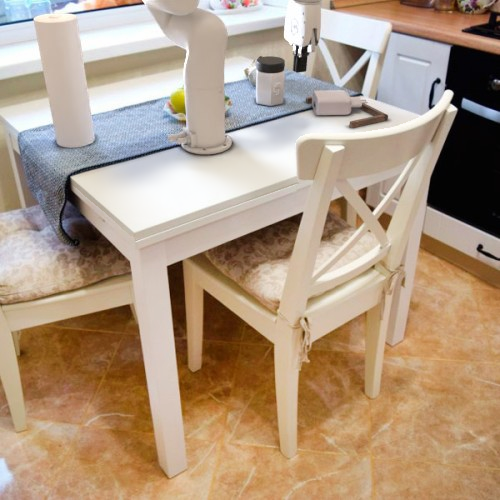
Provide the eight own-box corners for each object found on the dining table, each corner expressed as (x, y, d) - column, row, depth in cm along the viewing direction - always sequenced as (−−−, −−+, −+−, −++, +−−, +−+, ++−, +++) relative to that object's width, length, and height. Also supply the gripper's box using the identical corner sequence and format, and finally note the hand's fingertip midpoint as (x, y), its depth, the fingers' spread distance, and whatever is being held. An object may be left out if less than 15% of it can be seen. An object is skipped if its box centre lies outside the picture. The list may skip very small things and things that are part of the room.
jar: (264, 108, 169) (265, 66, 162) (249, 99, 175) (249, 59, 168) (289, 102, 173) (291, 61, 166) (273, 94, 179) (275, 54, 172)
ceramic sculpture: (242, 60, 177) (244, 50, 190) (242, 89, 182) (244, 77, 194) (278, 61, 177) (277, 51, 190) (277, 90, 181) (276, 78, 194)
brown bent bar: (351, 128, 157) (352, 122, 156) (305, 102, 173) (305, 97, 173) (387, 120, 162) (388, 115, 161) (339, 95, 178) (339, 91, 178)
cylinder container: (61, 150, 144) (37, 21, 127) (53, 136, 151) (29, 13, 134) (99, 143, 147) (81, 17, 131) (89, 130, 154) (70, 9, 138)
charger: (369, 115, 165) (317, 116, 164) (362, 104, 172) (311, 105, 171) (372, 99, 162) (318, 100, 161) (363, 88, 170) (312, 89, 169)
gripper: (277, -9, 147) (272, 65, 157) (310, 1, 137) (303, 80, 146) (302, -10, 151) (296, 62, 160) (336, 0, 140) (327, 77, 150)
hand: (299, 71), depth 153 cm, fingers closed
